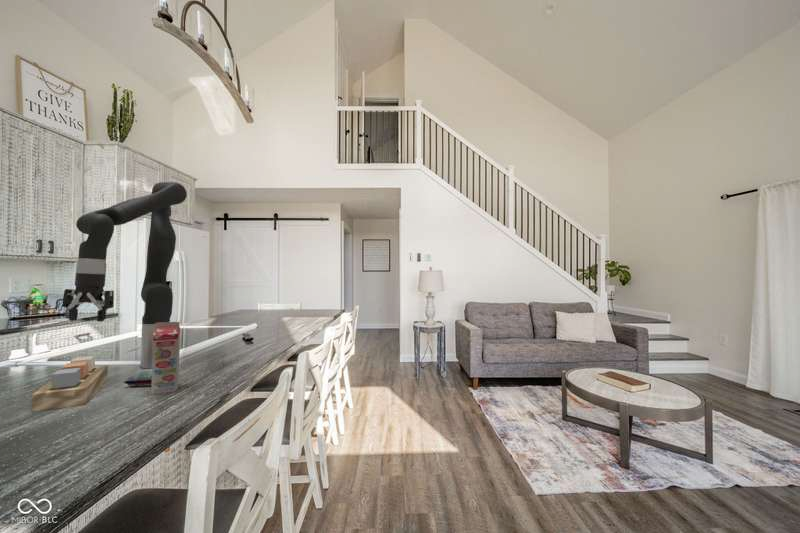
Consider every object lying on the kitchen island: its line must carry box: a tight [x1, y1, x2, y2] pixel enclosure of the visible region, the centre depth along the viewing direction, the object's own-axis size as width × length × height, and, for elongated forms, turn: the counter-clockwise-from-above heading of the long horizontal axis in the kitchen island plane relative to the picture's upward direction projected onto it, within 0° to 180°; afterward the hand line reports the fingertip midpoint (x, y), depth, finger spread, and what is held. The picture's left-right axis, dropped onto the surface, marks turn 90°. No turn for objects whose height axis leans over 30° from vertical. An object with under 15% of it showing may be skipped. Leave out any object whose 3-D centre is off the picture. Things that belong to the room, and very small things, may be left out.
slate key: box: [51, 368, 81, 389], centre depth 99 cm, size 5×5×4 cm
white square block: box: [70, 355, 96, 372], centre depth 113 cm, size 5×5×4 cm
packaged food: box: [122, 368, 152, 387], centre depth 117 cm, size 9×12×5 cm
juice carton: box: [151, 321, 181, 395], centre depth 111 cm, size 7×7×22 cm
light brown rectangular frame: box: [31, 365, 109, 413], centre depth 106 cm, size 11×26×5 cm, turn 30°
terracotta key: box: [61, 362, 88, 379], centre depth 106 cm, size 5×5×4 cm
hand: (86, 320), depth 114 cm, fingers open, 8 cm apart
